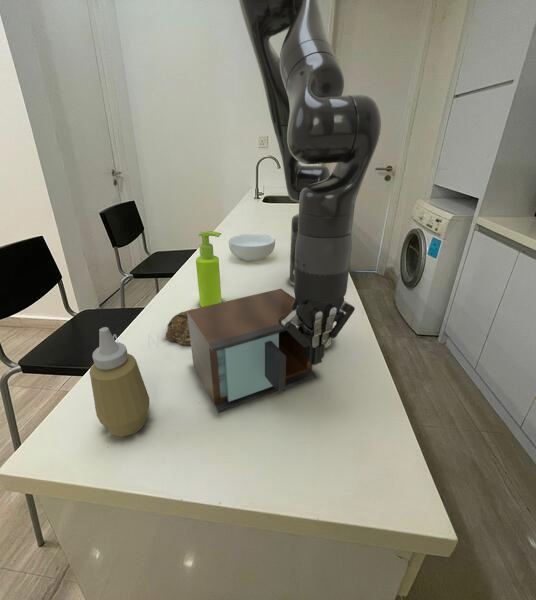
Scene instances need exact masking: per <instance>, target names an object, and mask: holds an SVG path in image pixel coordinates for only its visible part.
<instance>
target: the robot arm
mask: <svg viewBox="0 0 536 600" xmlns="http://www.w3.org/2000/svg"><path fill="white" fill-rule="evenodd" d="M238 2H239V7H240V11H241V14H242V18H243V22H244V25H245V28H246V31H247V35H248V38H249V40H250V41H249V42H250V44H251V47H252V50H253V54H254V57H255V60H256V63H257V66H258V67H257V68H258V70H259V73H260V77H261V80H262V84H263V89H264V94H265V98H266V103H267V106H268V111H269V116H270V120H271V124H272V126H273V131H274V134H275V138H276V141H277V145H278V150H279V153H280V156H281V161H282V167H283V174H284V181H285V186H286V187H285V188H286V191H287V195H288V197H289V199H290V200H291V201H293V202H297V203H298V213H297V214H295V215H293V216H292V218H291V229H290V231H291V232H290V255H289V256H290V257H289V277H288V282H289V285H291V286H293V292H294V298H295V301H294V303H293V305H292V312H291V313H290V314H289V315H288V316H287V317H286V318H285V317H281V318H279V321H278V322H279V323H280V324H281V325H282V326H283V327H284V328H285V329H286V330H287V331H288V332H289V333H290V334H291V335H292V336H293V337H294V338H295V339H296V340H297V341H298V342H299V343H300V344H301V345H302V346H303V347H305V354H304V356H305V358H306V359H307V360H308V361H309V362H310V363H311V364H312V366H315V365H318V364H320V363H322V361H323V358H324V357H325V349H326V348H325V344H326V343H327V342H328V339H329V338H332V339H335V338H337V337H338V335H339V333H340V332H341V331H342V329H343V328H344V326H345V325H346V324H347V322H348V321H349V319H350V318H351V316H352V315H353V314H354V312H355V310H356V309H355V306H353V305H352V304H351V303H349V302H348V301H345V296H346V295H347V291H348V283H349V282H348V281H349V275H350V274H349V273H350V265H351V257H352V249H353V248H352V246H353V245H352V244H353V242H352V236H353V235H352V233H353V232H352V231H353V225H354V216H355V209H356V208H355V206H356V200H357V199H358V194H359V192H360V190H361V187H362V184H363V181H364V178H365V176H366V173H367V171H368V168H369V166H370V163H371V161H372V159H373V156H374V154H375V152H376V148H377V146H378V142H379V140H380V135H381V129H382V118H381V112H380V109H379V107H378V104H377V102H376V101H375V100H374V99H373V98H372V97H370V96H368V95H365V94H352V95H351V94H350V95H343V93H344V89H345V78H344V74H343V70H342V68H341V65H340V62H339V61H338V59H337V57H336V55H335V53H334V51H333V48H332V46H331V44H330V42H329V40H328V37H327V33H326V30H325V29H326V28H325V25H324V21H323V20H324V19H323V16H322V12H321V7H320V3H319V0H238ZM286 31H287V32H286ZM284 32H286V35H285V36H284V39H283V41H282V45H281V48H280V52H279V55H278V53H277V51H276V50H275V48H274V47H273V45H272V43H271V41H270V39H271V38H272V37H275V36H277V35H280V34H282V33H284ZM301 164H303V165H301ZM320 164H321V165H320ZM322 164H336V165H335V167H334V169H333V170H332V173H331V172H330V169H329V167H327V166H326V165H322ZM298 319H299V320H300V321H301V322H302V328H303V330H304V334H302V333H301V332H300V331H299V330H298V328H299V326H298V321H297V320H298ZM334 324H335V325H334ZM332 327H333V329H332Z"/></svg>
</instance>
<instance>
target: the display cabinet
mask: <svg viewBox="0 0 536 600" xmlns="http://www.w3.org/2000/svg"><path fill="white" fill-rule="evenodd" d="M294 301H295V296H292V295H291V294H290V293H288V292H287V291H286V290H284V289H282V288H277V289H272V290H270V291H268V290H267V291H264V292H260V293H256V294H252V295H247V296H244V297H239V298H235V299H230V300H227V301H222V303H217V304H213V305H209V306H205V307H201V306H200V307H196V308H191V309H192V310H191V309H188V310H186V311H187V316H188V325H189V333H190V341H191V345H190V348H191V356H192V365H193V368H194V371H195V373H196V375H197V377H198V378H199V380H200V382H201V384H202V386H203V387H204V390H205V391H206V393H207V395H208V396H209V399H210V400H211V403H212V405H213V407H214V409H215V410H216V412H217V413H221V412H224V411H226V410H227V411H228V410H229V409H232V408H234V407H237V406H240V405H243V404H246V403H248V402H252V401H254V400H257V399H260V398H263V397H265V396H268V395H272V394H274V393H277V390H276V389H275V388H274V387H273V386H272V387H269V388H267V389H264V390H261V391H258V392H255V393H252V394H250V395H247V396H244V397H241V398H238V399H235V400H233V401H230V402H229V401H228V398H227V384H226V369H225V354H224V349H225V348H228V347H232V346H235V345H239V344H242V343H245V342H249V341H252V340H256V339H259V338H263V337H266V336H270V335H273V334H276V333H279V349H280V350H281V351H282V352H283V353H284V354H285V355H286V379H285V389H287V388H290V387H293V386H296V385H298V384H301V383H304V382H306V381H309V380H312V379H314V378H317V373H315V371H313V365H312V364H311V363H310V362H309V361H308V360H307V359H306V358H305V356H304V354H305V347H303V346H302V345H301V344H300V343H299V342H298V341H297V340H296V339H295V338H294V337H293V336H292V335H291V334H290V333H289V332H288V331H287V330H286V329H285V328H284V327H283V326H282V325H281V324H280V323H279V322H278V321H279V318H281V317H285V318H286V317H287V316H288V315H289V314H290V313H291V312H292V305H293V303H294ZM297 321H298V326H299V328H298V330H299V331H300V332H301V333H302V334H304V330H303V328H302V322H301V321H300V320H299V319H298V320H297Z"/></svg>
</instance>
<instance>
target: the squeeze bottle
mask: <svg viewBox="0 0 536 600" xmlns="http://www.w3.org/2000/svg"><path fill="white" fill-rule="evenodd" d="M98 335H99V337H98V339H99V340H98V341H99V343H98V344H99V346H98V347H97V348H95V350H94V351H93V352H92V356H91V358H92V360H93V364H92V365H91V367H90V368H89V369H90V370H89V377H90V383H91V389H92V395H93V401H94V407H95V408H94V409H95V414H96V417H97V419H98V421H99V423H100V424H101V425H102V426H103V427H104V428H105V429H106V430H107V431H108V432H109V433H110V434H111V435H113V436H115V437H123V438H125V437H128V436H132V435H134V434H136V433H138V432H139V431H140V430H141V429H142V428H143V427H144V426H145V424H146V422H147V418H148V413H149V409H150V404H151V403H150V396H149V393H148V391H147V387H146V384H145V382H144V378H143V376H142V373H141V371H140V367H139V365H138V362H137V359H136V358H135V356H133V354H131V353H128V349H127V346H126V345H125V344H124V343H122V342H118V341H116V340H115V337H114V336H113V334H112V333H111V330H110V328H109V327H107V326H104V327H101V328H99V329H98Z"/></svg>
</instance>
